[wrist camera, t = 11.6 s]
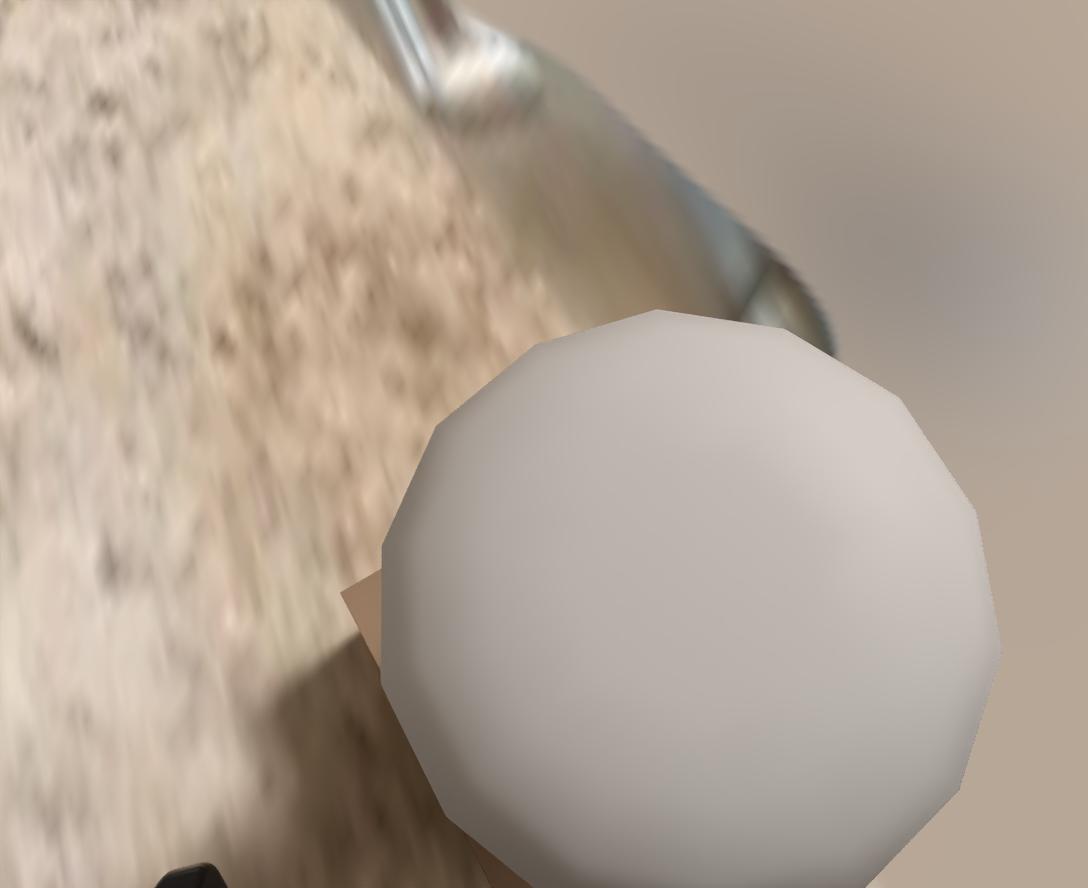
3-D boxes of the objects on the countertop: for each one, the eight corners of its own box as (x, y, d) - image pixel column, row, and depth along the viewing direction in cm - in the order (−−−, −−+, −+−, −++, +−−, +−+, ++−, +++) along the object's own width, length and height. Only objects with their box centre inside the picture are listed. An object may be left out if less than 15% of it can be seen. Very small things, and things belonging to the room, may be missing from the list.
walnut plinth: (864, 743, 22) (922, 748, 18) (553, 938, 21) (544, 988, 17) (671, 445, 24) (686, 393, 20) (382, 613, 23) (339, 592, 19)
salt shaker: (612, 913, 17) (655, 1419, 5) (410, 665, 19) (35, 559, 6) (844, 689, 18) (1395, 624, 6) (634, 467, 20) (705, 20, 7)
